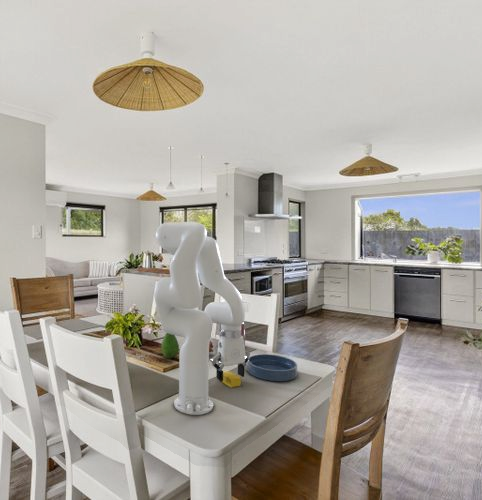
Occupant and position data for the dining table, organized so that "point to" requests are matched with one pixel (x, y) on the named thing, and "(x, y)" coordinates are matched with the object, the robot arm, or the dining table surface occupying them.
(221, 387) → the dining table surface
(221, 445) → the dining table surface
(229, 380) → the sponge
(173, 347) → the avocado
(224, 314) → the robot arm
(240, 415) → the dining table surface
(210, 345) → the dragon fruit
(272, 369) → the bowl
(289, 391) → the dining table surface
